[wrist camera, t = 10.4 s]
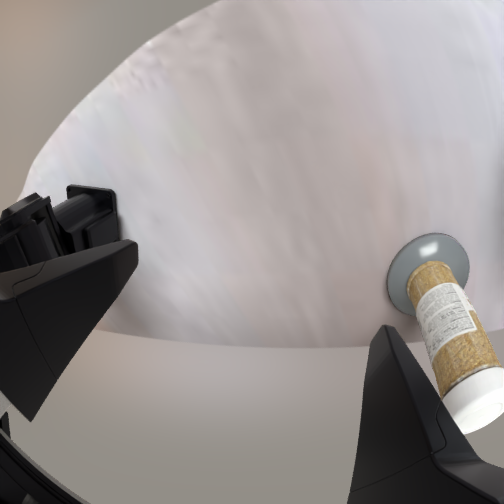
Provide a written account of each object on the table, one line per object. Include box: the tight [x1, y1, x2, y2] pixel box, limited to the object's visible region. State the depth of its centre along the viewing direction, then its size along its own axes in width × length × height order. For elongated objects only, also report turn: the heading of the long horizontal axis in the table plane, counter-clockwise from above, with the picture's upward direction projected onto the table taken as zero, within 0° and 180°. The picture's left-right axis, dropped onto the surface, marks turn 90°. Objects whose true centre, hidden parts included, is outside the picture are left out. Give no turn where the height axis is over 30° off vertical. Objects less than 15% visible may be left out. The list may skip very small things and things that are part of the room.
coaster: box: [387, 233, 470, 316], centre depth 21 cm, size 8×8×1 cm
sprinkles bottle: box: [407, 261, 504, 434], centre depth 15 cm, size 5×5×14 cm
